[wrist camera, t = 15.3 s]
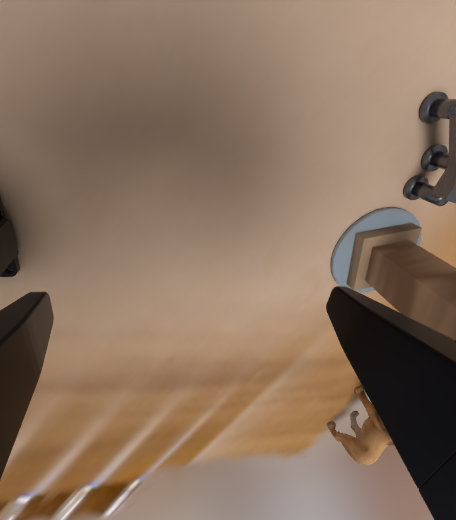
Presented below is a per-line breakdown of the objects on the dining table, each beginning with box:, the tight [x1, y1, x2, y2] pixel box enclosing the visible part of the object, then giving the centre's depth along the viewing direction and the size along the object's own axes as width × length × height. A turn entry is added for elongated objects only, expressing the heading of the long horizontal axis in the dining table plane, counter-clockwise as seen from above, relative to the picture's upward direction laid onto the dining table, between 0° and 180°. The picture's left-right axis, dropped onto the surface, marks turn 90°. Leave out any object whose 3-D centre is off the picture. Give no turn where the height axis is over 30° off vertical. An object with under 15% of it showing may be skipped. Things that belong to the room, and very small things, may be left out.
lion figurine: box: [328, 387, 394, 465], centre depth 38 cm, size 15×5×9 cm, turn 168°
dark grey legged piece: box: [403, 92, 456, 206], centre depth 21 cm, size 4×8×4 cm, turn 173°
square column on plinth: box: [346, 223, 456, 340], centre depth 22 cm, size 6×6×12 cm
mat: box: [331, 207, 421, 293], centre depth 27 cm, size 9×9×1 cm
